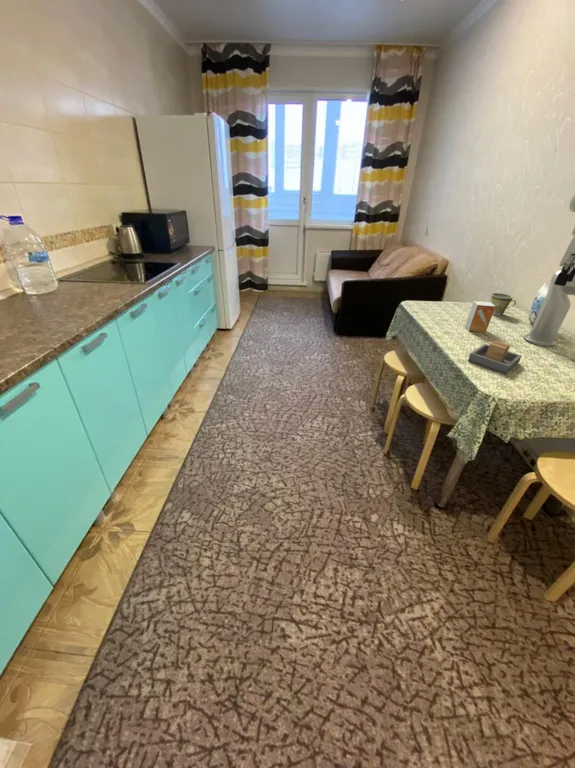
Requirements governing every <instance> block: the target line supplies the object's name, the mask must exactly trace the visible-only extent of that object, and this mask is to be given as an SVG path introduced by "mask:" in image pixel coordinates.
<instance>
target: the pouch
mask: <svg viewBox="0 0 575 768" xmlns="http://www.w3.org/2000/svg"><path fill="white" fill-rule="evenodd" d="M548 289H549V285H548V284H547V283H546V282H545V283H544V284H543V285H542V286H541V287H540V288H539V289H538V291H537V293H536V295H535V296H534V299H533V301H532V304H531V306H530V309H529V313H528V317H527V318H528V321H529V322H530V323H531V324H532V326H533V325H534V322H535V320H536V318H537V316H538V313H539V311H540V309H541V307H542V304H543V302H544V300H545V297H546V295H547V292H548Z"/></svg>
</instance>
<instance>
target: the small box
mask: <svg viewBox="0 0 575 768" xmlns="http://www.w3.org/2000/svg"><path fill="white" fill-rule="evenodd" d="M495 307H496V306H495V305H493V304H492V303H491V301H475V300H473V301H472V304H471V306H470V310H469V312H468V317H467V319H466V321H465V325H464V327H465V328H466V329H468V330H467V331H468V332H479V333H486V332H487V330H488V328H489V326H490V322H491V319H492V317H493V316H494V315H493V312H494V310H495Z"/></svg>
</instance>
